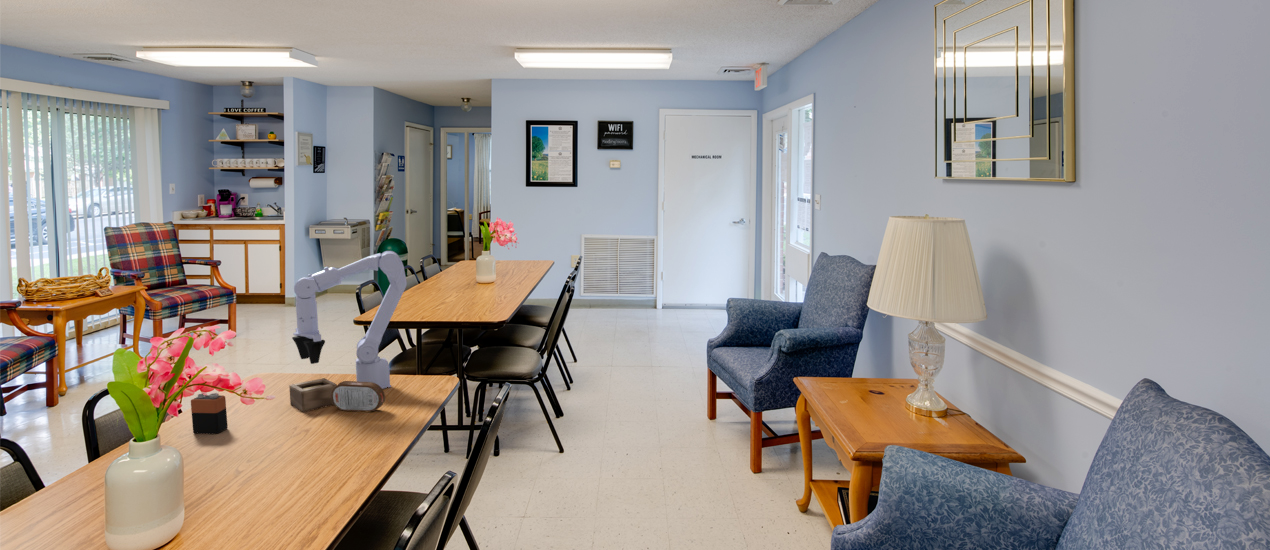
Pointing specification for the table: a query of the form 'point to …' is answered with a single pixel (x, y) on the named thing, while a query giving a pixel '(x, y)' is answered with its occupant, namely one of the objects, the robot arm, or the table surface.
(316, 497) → the table surface
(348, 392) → the tin
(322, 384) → the coin box
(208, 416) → the battery
